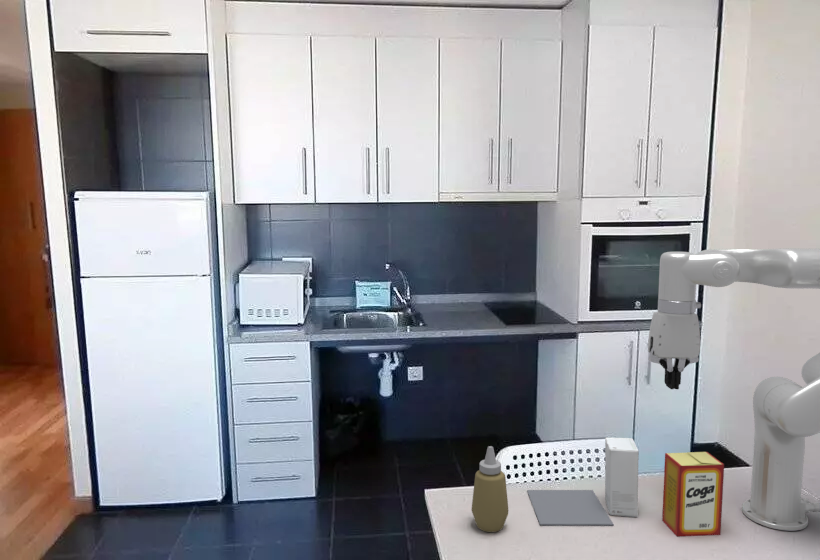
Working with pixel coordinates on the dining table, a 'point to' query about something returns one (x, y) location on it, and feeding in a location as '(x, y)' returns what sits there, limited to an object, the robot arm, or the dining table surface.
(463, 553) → the dining table surface
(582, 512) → the mat
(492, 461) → the squeeze bottle
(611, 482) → the skincare box
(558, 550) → the dining table surface
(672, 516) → the baking soda box
